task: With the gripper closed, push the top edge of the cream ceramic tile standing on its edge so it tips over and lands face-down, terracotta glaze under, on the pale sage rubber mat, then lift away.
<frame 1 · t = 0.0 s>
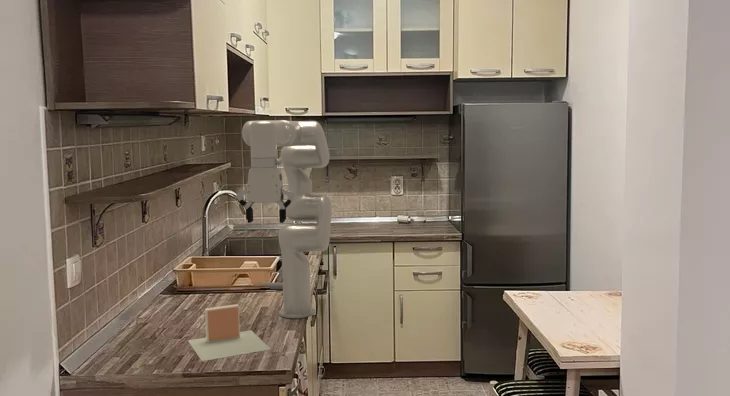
hand: (266, 222, 192), 37 cm above the counter, tool pointing down, fingers open, 9 cm apart
tile: (223, 338, 201), point 1 cm above the counter, touching mat
kitchen whisk: (294, 292, 260), on the counter
mat: (228, 346, 196), on the counter
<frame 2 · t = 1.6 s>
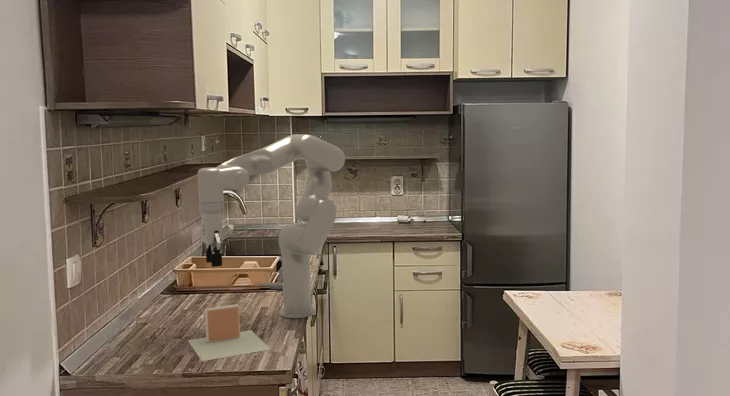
hand: (214, 263, 206), 23 cm above the counter, tool pointing down, fingers open, 6 cm apart
nothing on the counter moved.
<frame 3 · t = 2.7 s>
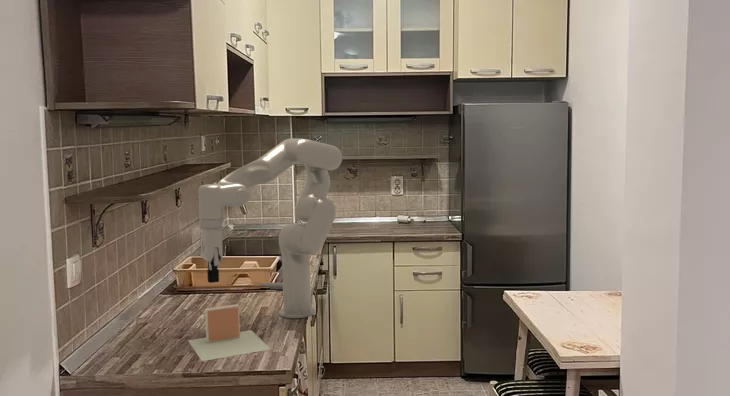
hand: (213, 281, 206), 17 cm above the counter, tool pointing down, fingers closed
nothing on the counter moved.
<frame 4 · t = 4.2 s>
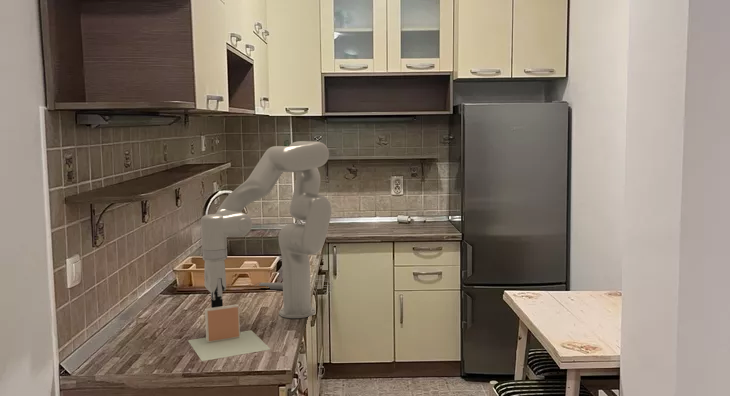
hand: (217, 311, 206), 8 cm above the counter, tool pointing down, fingers closed
nothing on the counter moved.
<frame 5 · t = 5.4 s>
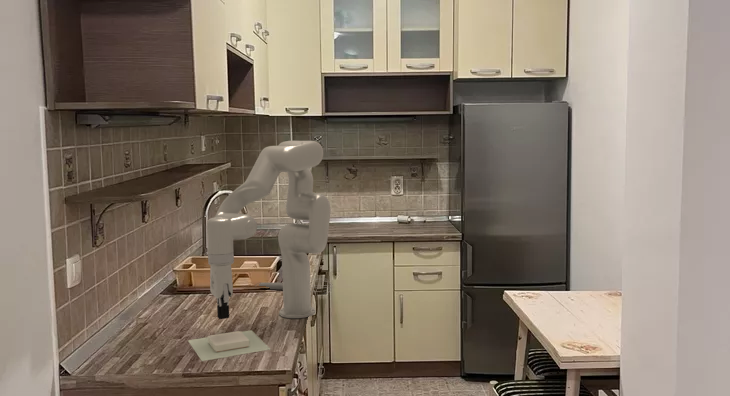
hand: (223, 317, 199), 8 cm above the counter, tool pointing down, fingers closed
tile: (224, 336, 200), point 2 cm above the counter, tilted 90°, touching mat
everything else where it was.
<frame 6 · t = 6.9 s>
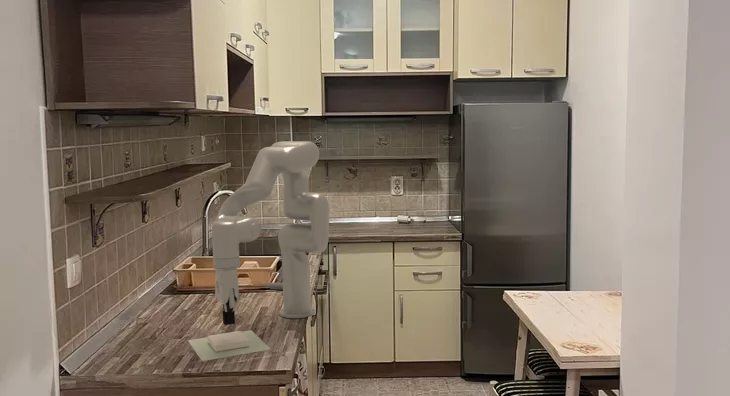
hand: (229, 323, 193), 8 cm above the counter, tool pointing down, fingers closed
nothing on the counter moved.
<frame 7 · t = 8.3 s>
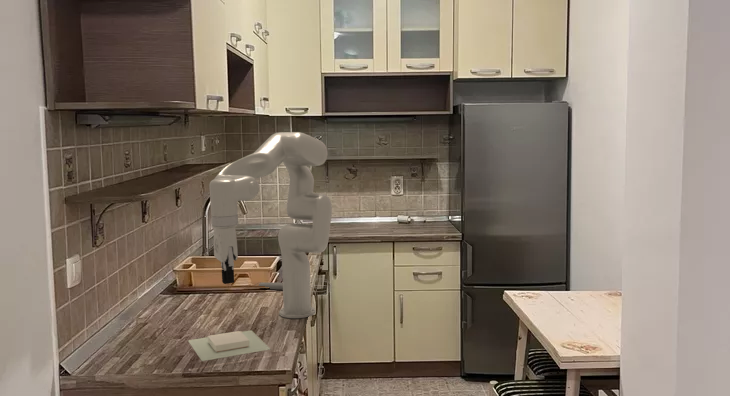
hand: (228, 282, 193), 20 cm above the counter, tool pointing down, fingers closed
nothing on the counter moved.
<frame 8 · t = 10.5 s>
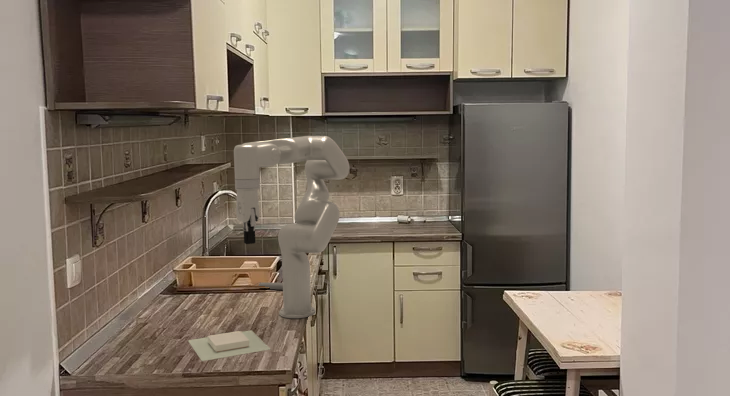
hand: (249, 243, 204), 29 cm above the counter, tool pointing down, fingers closed
nothing on the counter moved.
at the end: tile tilted 90°; tile inside the target area (3.4 cm from its centre), point 1.8 cm above the counter; tile touching mat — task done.
